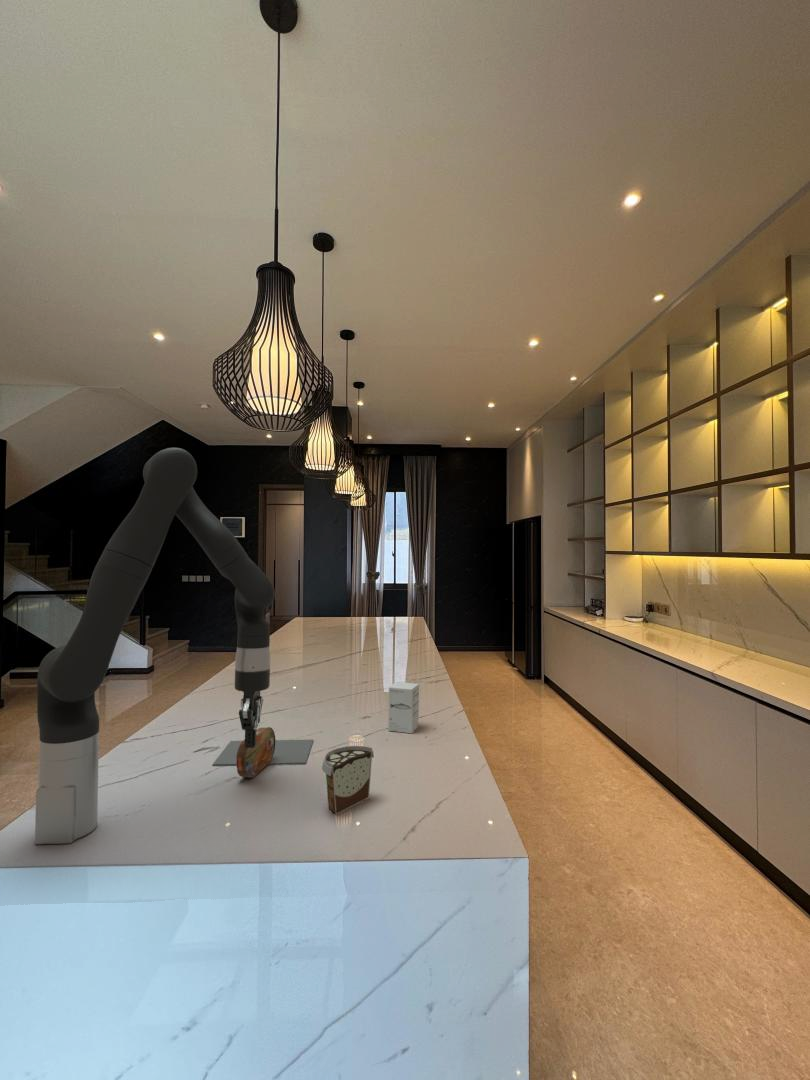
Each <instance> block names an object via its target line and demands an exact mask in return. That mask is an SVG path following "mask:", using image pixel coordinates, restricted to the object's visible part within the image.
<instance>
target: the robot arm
mask: <svg viewBox="0 0 810 1080" xmlns="http://www.w3.org/2000/svg"><path fill="white" fill-rule="evenodd" d="M142 477H143V480H144V484H143V485H142V486H143V487H142V489H141V490H140V494H139V496H138V498H137V500H136V502H135V504H134V505H133V507H132V508H131V510H130V511H129V512H128V514H127V515H126V517H124V519H123V520H122V521H121V523H120V524H119V526H118V527H117V528H116V530H115V531H114V533H112V536H111V537H110V539H109V540H108V542H107V544H106V546H105V547H104V549H103V551H102V552H101V553H102V554H101V555H100V557H99V559H98V561H97V563H96V564H95V567H94V569H93V572H92V575H91V577H90V579H89V583H88V588H87V591H86V592H87V593H86V596H85V597H86V598H85V602H84V605H83V610H82V614H81V616H80V619H79V621H78V623H77V625H76V627H75V629H74V631H73V633H72V634H71V636H70V638H69V640H68V641H67V643H66V644H65V645H61V646H58V647H55V648H54V649H52V650H50V651H49V652H48V653H47V654H46V655H45V656H44V657H43V659H42V660H41V662H40V664H39V666H38V672H37V678H36V679H37V682H36V683H37V687H36V688H37V689H36V690H37V691H36V696H37V697H36V700H37V701H36V704H37V705H36V707H37V709H36V711H37V712H36V713H37V715H36V717H37V724H38V728H39V731H38V732H39V747H38V749H39V753H38V786H37V788H36V789H35V790H36V791H35V817H34V818H35V823H34V824H35V826H34V829H35V831H34V844H35V845H46V844H47V845H50V844H51V845H52V844H53V845H55V844H72V843H73V842H74V841H75V840H78V839H80V838H82V837H85V836H86V835H88V834H90V833H91V832H93V831H94V830H95V829H96V828H97V825H98V813H99V812H98V811H99V810H98V809H99V799H98V798H99V761H100V760H99V758H100V757H99V756H100V755H99V754H100V750H99V749H100V748H99V747H100V716H99V713H98V710H97V705H96V696H95V695H96V694H95V692H96V691H97V690H98V689H99V688H100V686H101V685H102V684H103V682H104V680H105V677H106V674H107V672H108V669H109V666H110V663H111V660H112V657H113V653H114V651H115V648H116V645H117V642H118V640H119V638H120V635H121V633H122V631H123V628H124V626H125V624H126V622H127V620H128V619H129V617H130V615H131V614H132V611H133V609H134V608H135V606H136V603H137V601H138V599H139V597H140V595H141V593H142V591H143V589H144V587H145V585H146V584H147V581H148V579H149V577H150V574H151V572H152V571H153V568H154V566H155V564H156V561H157V558H158V556H159V554H160V552H161V549H162V547H163V545H164V542H165V540H166V537H167V534H168V532H169V530H170V529H169V528H170V526H171V524H172V522H173V520H174V517H175V516H176V517H177V518H178V520H180V522H181V523H182V524H183V525H184V527H186V529H187V530H188V532H189V533H190V535H192V536H193V538H194V539H195V540H196V542H197V543H198V544H199V546H200V547H201V548H202V550H203V551H204V553H205V554H206V556H207V557H208V558H209V560H210V561H211V563H212V564H213V565H214V567H215V568H216V569H217V571H218V572H219V573H220V575H221V576H222V577H224V578H225V579H227V580H229V581H230V582H231V583H232V584H233V586H234V587H235V591H234V592H235V593H234V609H235V615H236V616H235V618H236V623H237V641H236V652H235V662H234V663H235V664H234V689H235V691H237V692H242V693H243V696H242V698H241V699H240V707H241V709H239V711H238V715H239V721H240V725H241V730H242V731H243V730H244V740H245V747H246V748H253V747H254V746H255V745H256V732H257V729H258V728H259V724H260V722H261V714H262V709H263V703H264V697H263V696H262V695H261V692H262V691H265V690H268V689H269V688H270V680H271V679H270V678H271V675H270V674H271V653H270V652H271V650H270V641H271V640H270V639H271V638H270V636H271V634H270V632H271V631H270V630H271V628H270V624H269V622H268V621H267V620H266V618H265V617H266V616H265V609H267V608H269V607H270V606H271V605H272V604H273V602H274V601H275V599H276V598H275V597H276V591H275V587H274V585H273V583H272V581H271V580H270V578H269V577H268V576H267V574H266V573H264V571H262V569H260V567H259V566H258V565H257V564H256V563H255V562H254V561H253V560H252V559H251V558H250V556H248V553H247V552H246V551H245V549H244V548H243V546H242V545H241V543H240V542H239V540H238V539H237V538H236V537H235V535H234V534H233V532H232V531H231V530H230V529H229V528H228V527H227V526H226V525H225V524H224V523H223V522H222V521H221V520H220V519H218V517H216V515H214V513H212V512H211V511H210V510H209V509H208V507H207V506H206V505H205V503H203V501H202V499H201V498H200V497H199V496H198V493H197V492H196V490H195V489H194V487H193V486H194V484H195V483H196V480H197V477H198V466H197V462H196V460H195V458H194V456H193V455H192V454H191V453H190V452H189V451H188V450H185V449H184V448H180V447H167V448H165V449H164V448H163V449H161V450H159V451H158V452H156V453H155V454H154V455H152V456H151V457H150V458H149V459H148V460H147V461H146V463H145V464H144V466H143V470H142Z"/></svg>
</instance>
